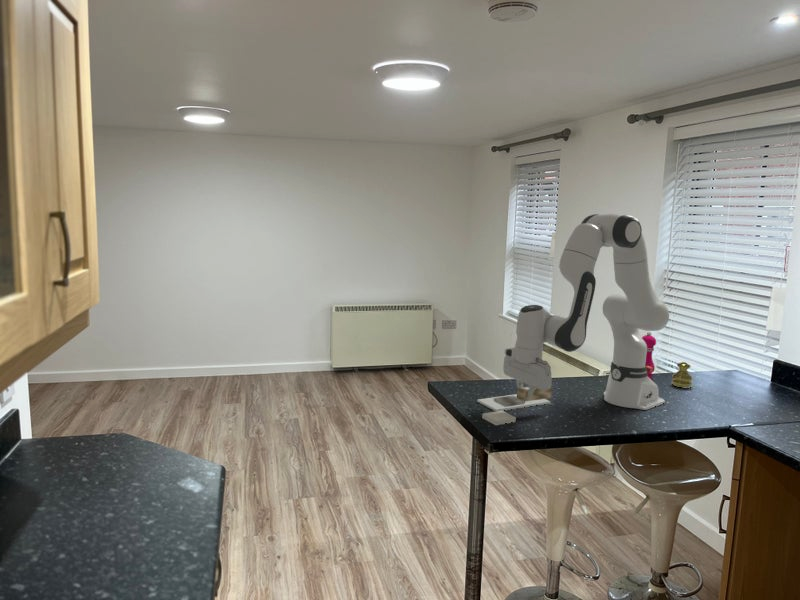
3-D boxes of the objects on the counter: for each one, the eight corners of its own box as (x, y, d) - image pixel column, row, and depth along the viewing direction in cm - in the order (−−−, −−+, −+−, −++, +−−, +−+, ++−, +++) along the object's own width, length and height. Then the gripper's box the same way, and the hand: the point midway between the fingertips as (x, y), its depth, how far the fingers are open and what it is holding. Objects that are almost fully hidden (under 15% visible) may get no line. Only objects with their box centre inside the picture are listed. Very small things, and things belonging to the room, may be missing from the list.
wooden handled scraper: (542, 394, 202) (543, 382, 201) (555, 399, 197) (556, 387, 196) (493, 401, 192) (494, 389, 191) (505, 407, 187) (506, 394, 186)
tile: (502, 410, 195) (482, 413, 191) (515, 417, 189) (496, 420, 185) (501, 416, 196) (482, 419, 192) (515, 423, 189) (495, 426, 186)
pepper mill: (655, 381, 245) (660, 334, 242) (636, 379, 246) (642, 332, 243) (651, 376, 252) (656, 330, 249) (633, 374, 254) (638, 329, 250)
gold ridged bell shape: (667, 383, 243) (670, 359, 241) (684, 383, 244) (687, 360, 242) (677, 389, 236) (680, 364, 234) (695, 389, 236) (698, 365, 235)
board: (529, 394, 219) (530, 392, 219) (550, 403, 209) (550, 401, 209) (477, 401, 208) (477, 399, 207) (496, 411, 198) (496, 409, 198)
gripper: (558, 361, 185) (554, 404, 187) (516, 347, 202) (513, 385, 204) (542, 363, 182) (539, 406, 184) (501, 348, 199) (498, 387, 201)
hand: (525, 395), depth 194 cm, fingers closed on wooden handled scraper, 2 cm apart
